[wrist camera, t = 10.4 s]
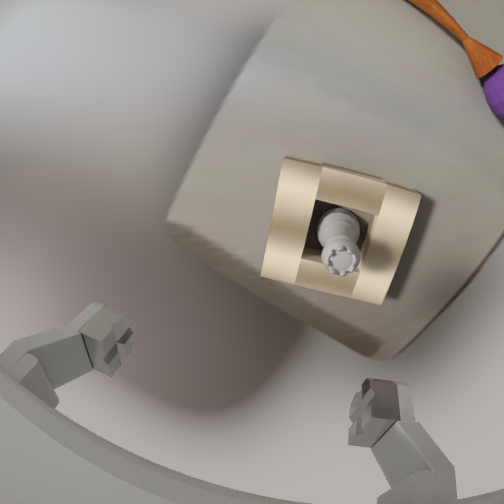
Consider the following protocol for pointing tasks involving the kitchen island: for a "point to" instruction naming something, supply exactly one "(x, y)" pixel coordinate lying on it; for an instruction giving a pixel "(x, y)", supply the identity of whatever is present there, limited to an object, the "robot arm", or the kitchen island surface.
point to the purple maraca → (473, 55)
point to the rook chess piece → (339, 241)
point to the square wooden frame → (348, 195)
